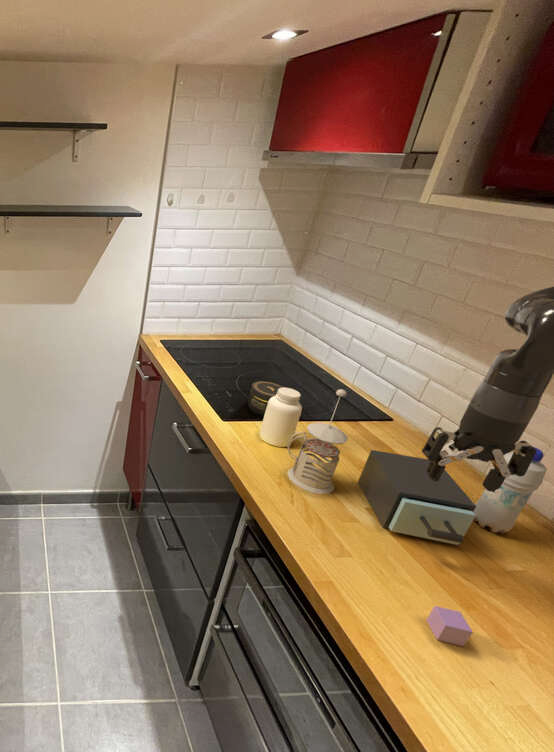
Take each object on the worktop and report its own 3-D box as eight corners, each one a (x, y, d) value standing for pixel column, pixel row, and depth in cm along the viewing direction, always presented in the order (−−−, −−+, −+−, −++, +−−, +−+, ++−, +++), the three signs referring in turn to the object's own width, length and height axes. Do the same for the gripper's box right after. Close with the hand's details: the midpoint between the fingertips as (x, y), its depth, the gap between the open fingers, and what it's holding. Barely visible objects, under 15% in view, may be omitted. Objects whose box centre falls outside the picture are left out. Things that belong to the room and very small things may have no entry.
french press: (338, 499, 102) (375, 405, 92) (281, 485, 106) (311, 393, 96) (329, 473, 110) (363, 384, 100) (277, 461, 114) (304, 374, 104)
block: (451, 626, 75) (460, 611, 73) (463, 646, 72) (473, 632, 70) (425, 619, 76) (434, 605, 74) (436, 639, 73) (445, 625, 71)
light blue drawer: (473, 565, 85) (492, 534, 82) (401, 549, 88) (417, 519, 85) (425, 499, 101) (439, 471, 98) (366, 488, 104) (377, 461, 101)
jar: (259, 399, 143) (264, 378, 140) (289, 413, 136) (296, 391, 132) (239, 406, 139) (245, 385, 136) (269, 422, 131) (276, 399, 128)
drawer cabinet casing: (455, 543, 91) (476, 506, 87) (382, 527, 94) (399, 491, 90) (420, 494, 104) (437, 460, 100) (357, 482, 107) (371, 449, 103)
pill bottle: (294, 439, 123) (310, 392, 117) (285, 451, 118) (301, 403, 112) (264, 427, 128) (277, 381, 122) (254, 439, 123) (267, 391, 117)
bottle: (462, 509, 100) (503, 434, 92) (501, 519, 97) (547, 443, 89) (473, 529, 94) (519, 452, 86) (516, 541, 92) (566, 462, 83)
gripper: (462, 413, 75) (424, 488, 82) (569, 428, 71) (521, 506, 78) (439, 392, 82) (405, 463, 88) (536, 406, 78) (494, 479, 85)
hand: (459, 483), depth 83 cm, fingers open, 8 cm apart
